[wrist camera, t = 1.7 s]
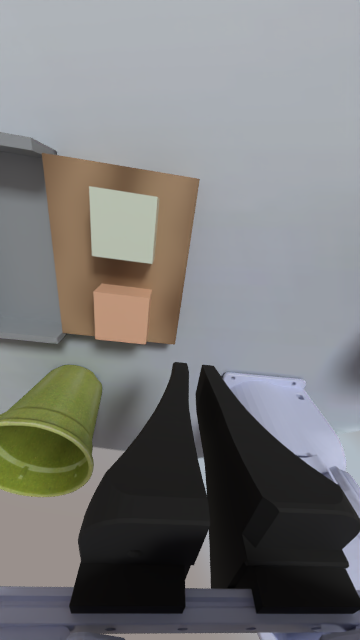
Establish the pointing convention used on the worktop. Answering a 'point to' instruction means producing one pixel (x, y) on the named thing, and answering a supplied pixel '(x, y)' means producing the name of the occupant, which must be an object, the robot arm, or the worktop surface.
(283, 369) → the worktop surface
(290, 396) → the robot arm
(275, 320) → the worktop surface
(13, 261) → the tray
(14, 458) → the plant pot
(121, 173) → the board
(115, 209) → the tile sage
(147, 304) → the tile terracotta
